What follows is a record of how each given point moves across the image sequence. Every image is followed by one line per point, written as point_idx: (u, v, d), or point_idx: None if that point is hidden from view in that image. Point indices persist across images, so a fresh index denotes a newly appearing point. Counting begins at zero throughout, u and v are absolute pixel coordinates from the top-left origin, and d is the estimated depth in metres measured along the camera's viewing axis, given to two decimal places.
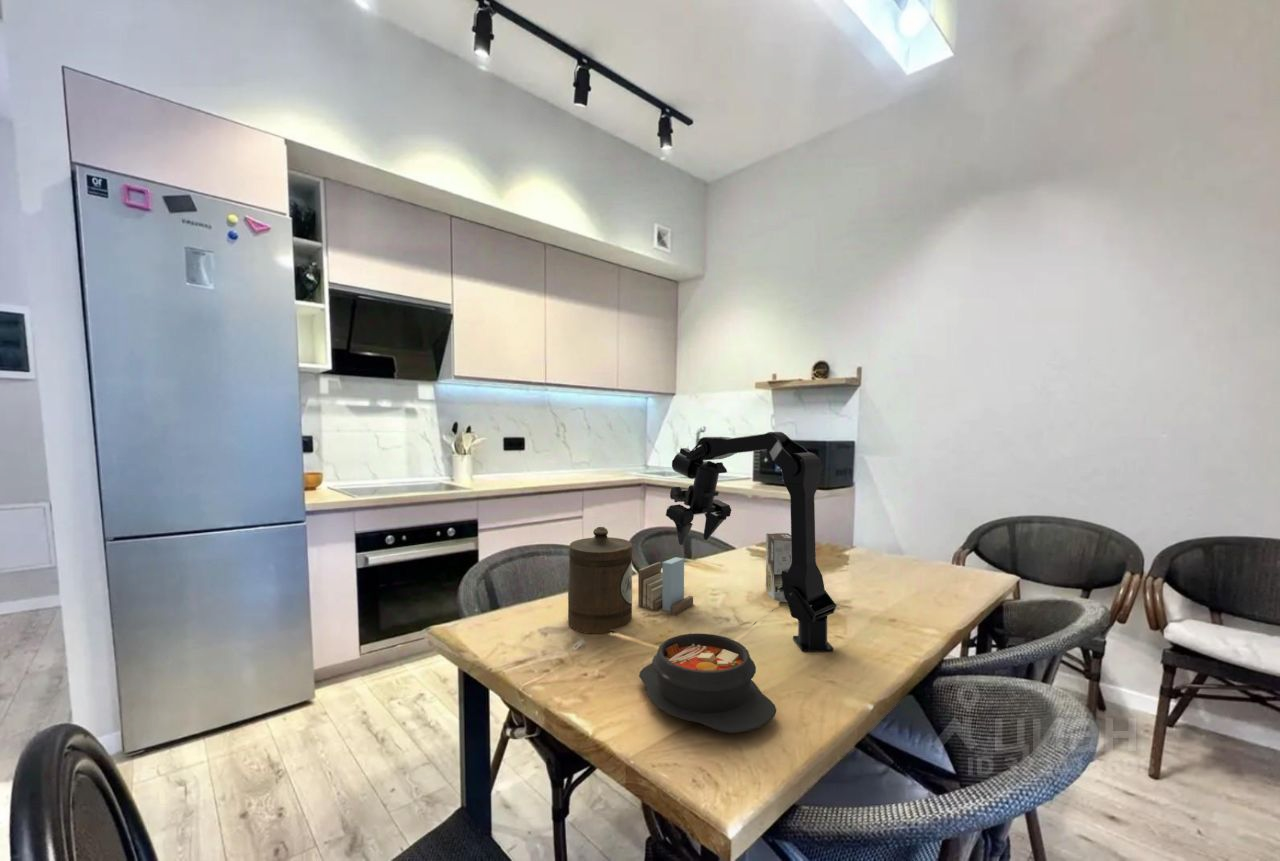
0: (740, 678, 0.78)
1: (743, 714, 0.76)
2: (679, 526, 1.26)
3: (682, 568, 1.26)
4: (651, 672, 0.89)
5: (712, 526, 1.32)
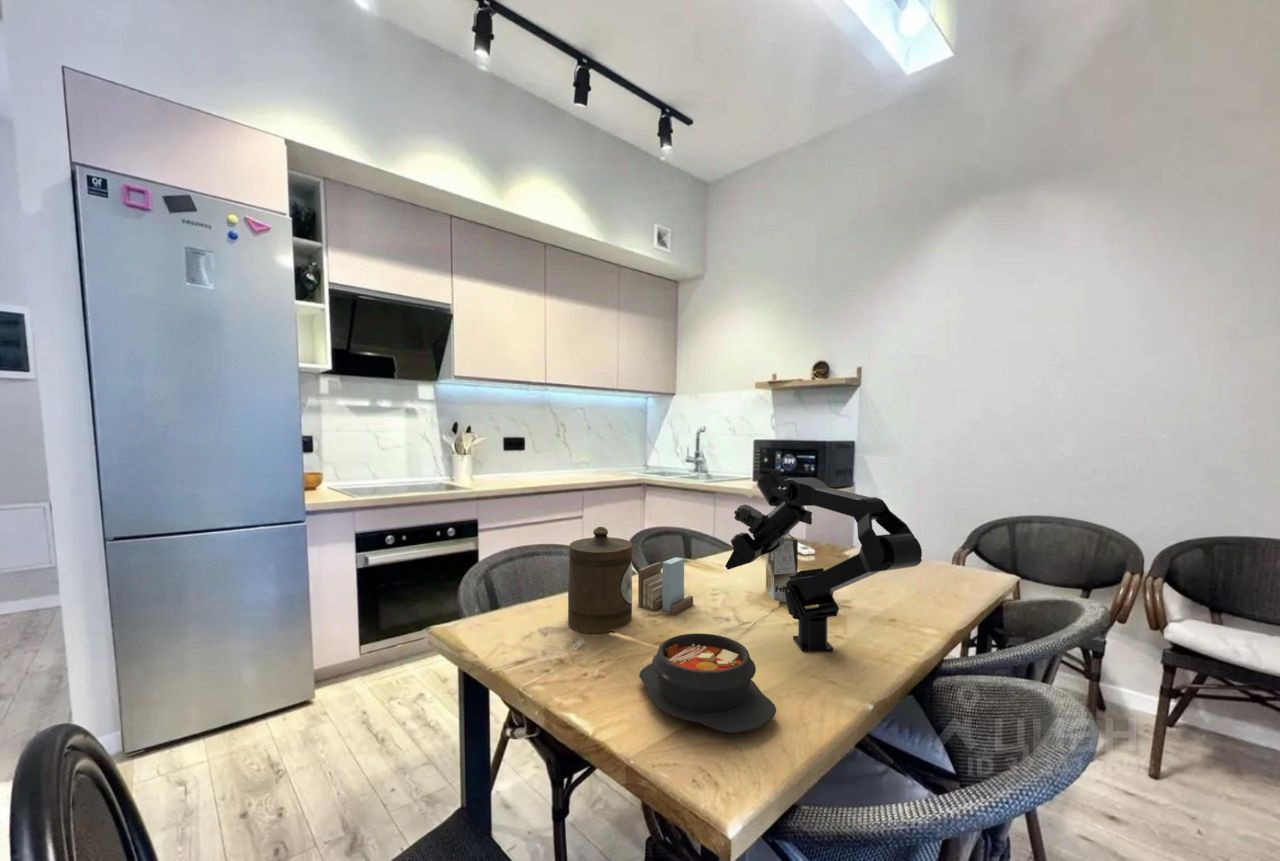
0: (740, 678, 0.78)
1: (743, 714, 0.76)
2: (736, 554, 1.13)
3: (682, 568, 1.26)
4: (651, 672, 0.89)
5: None
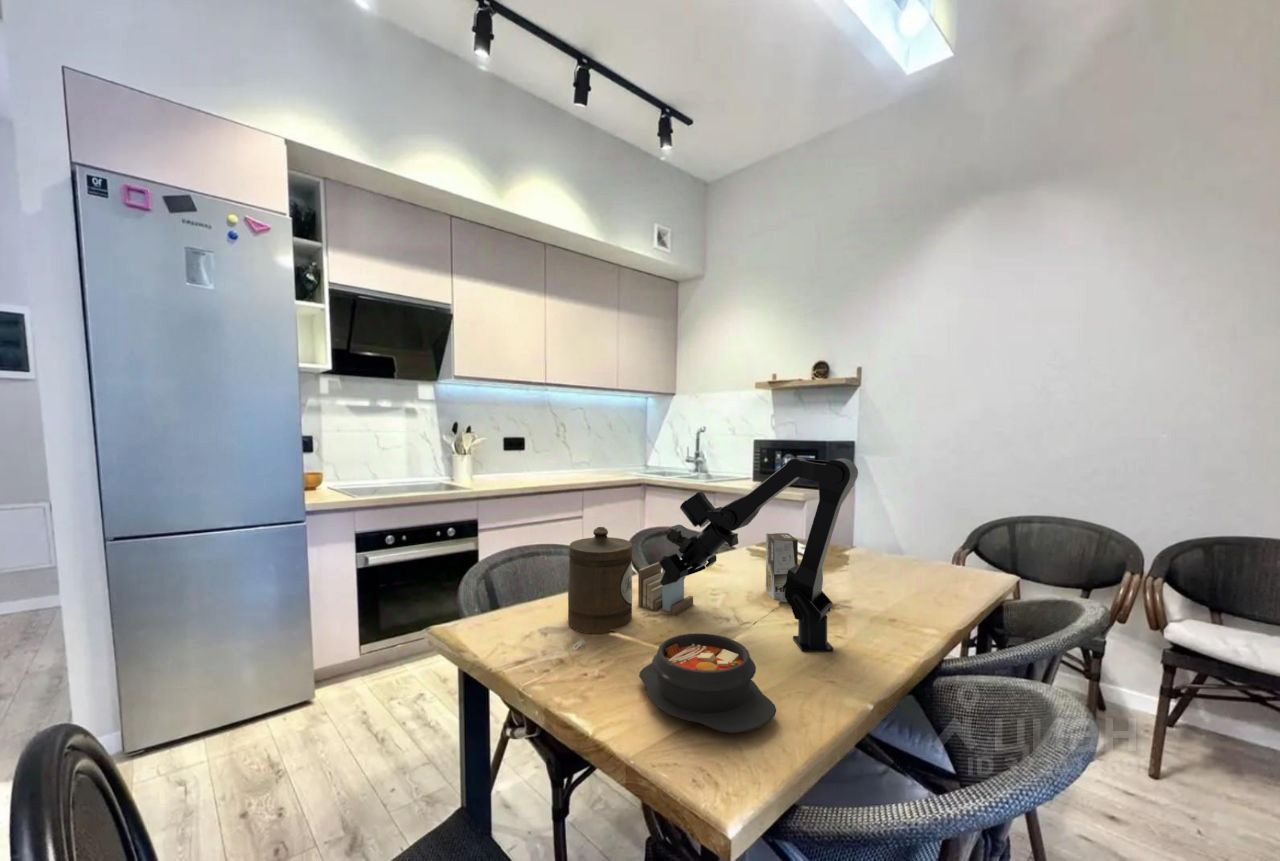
0: (740, 678, 0.78)
1: (743, 714, 0.76)
2: None
3: None
4: (651, 672, 0.89)
5: (689, 571, 1.26)
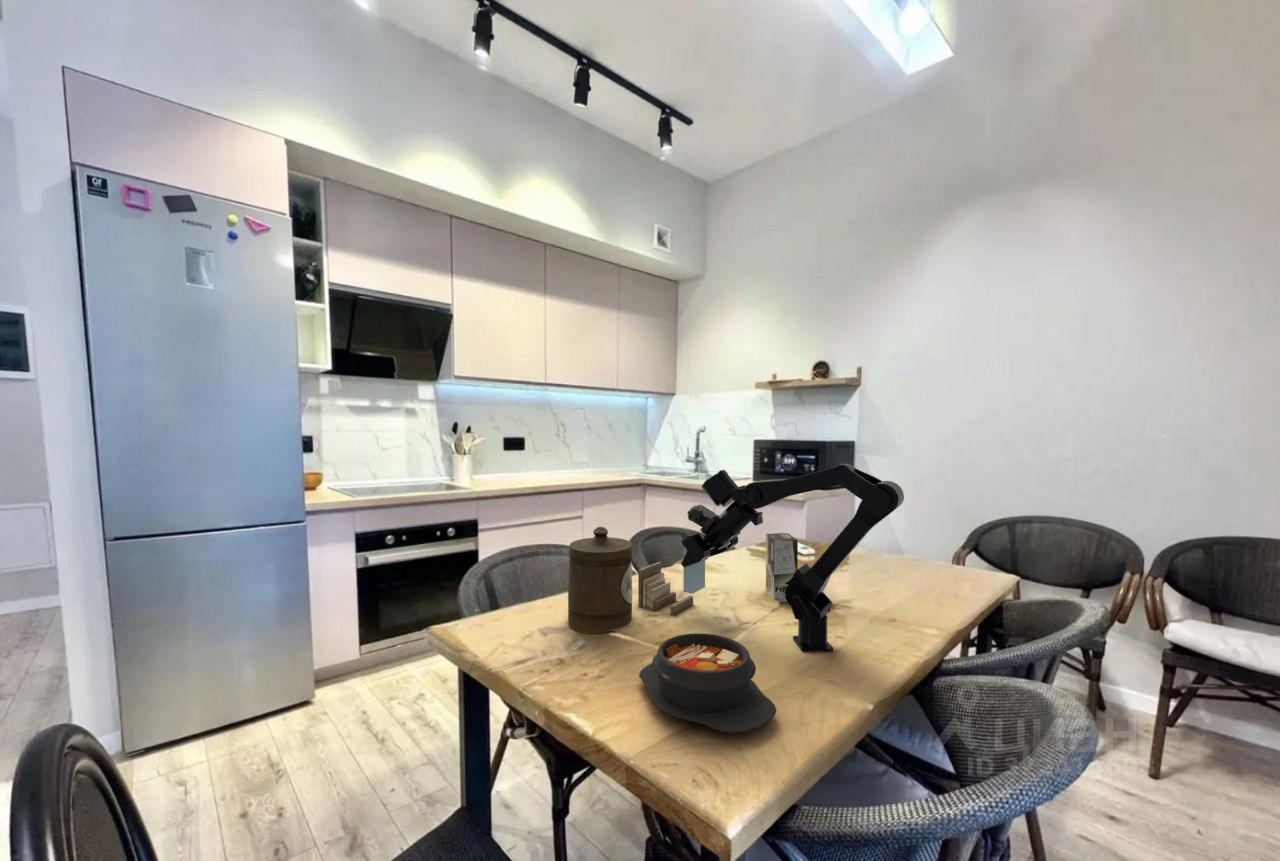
0: (740, 678, 0.78)
1: (743, 714, 0.76)
2: None
3: None
4: (651, 672, 0.89)
5: None
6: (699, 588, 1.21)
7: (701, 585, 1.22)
